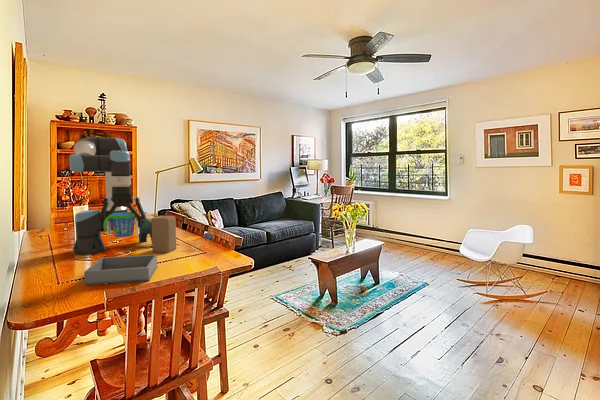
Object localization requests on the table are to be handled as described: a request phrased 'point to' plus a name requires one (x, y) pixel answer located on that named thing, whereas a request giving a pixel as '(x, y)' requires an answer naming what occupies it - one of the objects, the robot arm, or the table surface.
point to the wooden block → (163, 233)
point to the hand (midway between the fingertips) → (123, 234)
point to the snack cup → (121, 223)
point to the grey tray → (121, 270)
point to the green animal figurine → (145, 230)
